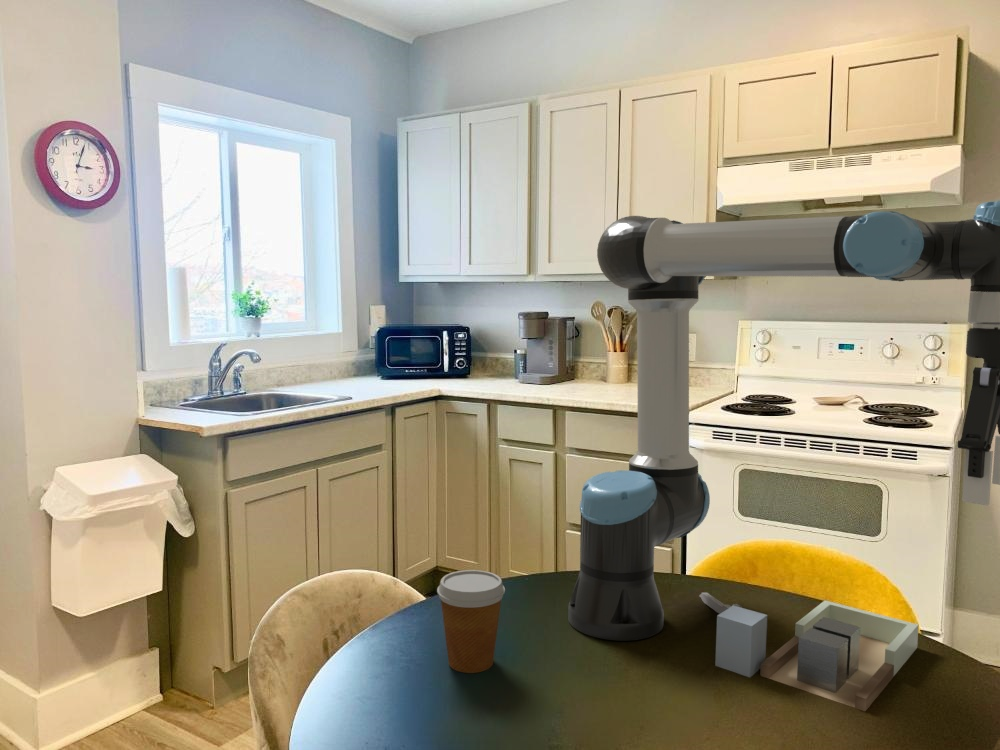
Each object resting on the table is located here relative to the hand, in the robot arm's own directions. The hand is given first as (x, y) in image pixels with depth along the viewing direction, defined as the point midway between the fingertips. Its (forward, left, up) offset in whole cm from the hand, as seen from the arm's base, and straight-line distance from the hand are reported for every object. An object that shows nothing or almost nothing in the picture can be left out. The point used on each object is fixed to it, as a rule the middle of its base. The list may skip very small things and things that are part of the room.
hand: (990, 493), depth 97 cm
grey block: (-26, -15, -27) cm, 40 cm away
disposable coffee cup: (-55, -39, -27) cm, 72 cm away
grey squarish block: (-16, -12, -26) cm, 33 cm away
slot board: (-16, -4, -27) cm, 31 cm away
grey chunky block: (-16, -7, -26) cm, 31 cm away
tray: (-16, +2, -27) cm, 31 cm away
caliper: (-36, -1, -27) cm, 45 cm away
